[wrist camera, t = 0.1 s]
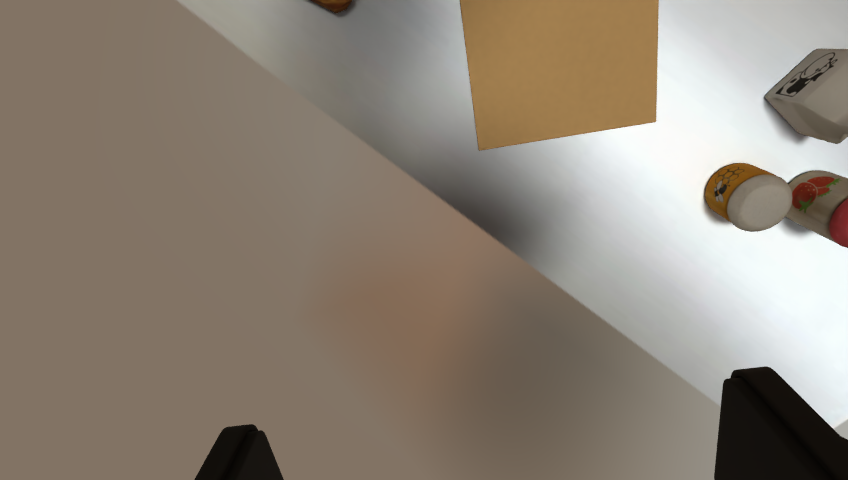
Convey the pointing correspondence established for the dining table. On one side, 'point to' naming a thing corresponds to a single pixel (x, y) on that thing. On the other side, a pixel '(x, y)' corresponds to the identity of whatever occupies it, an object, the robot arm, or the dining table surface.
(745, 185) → the toy food
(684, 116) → the dining table surface
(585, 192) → the dining table surface
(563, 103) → the place mat
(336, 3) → the croissant
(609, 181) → the dining table surface
